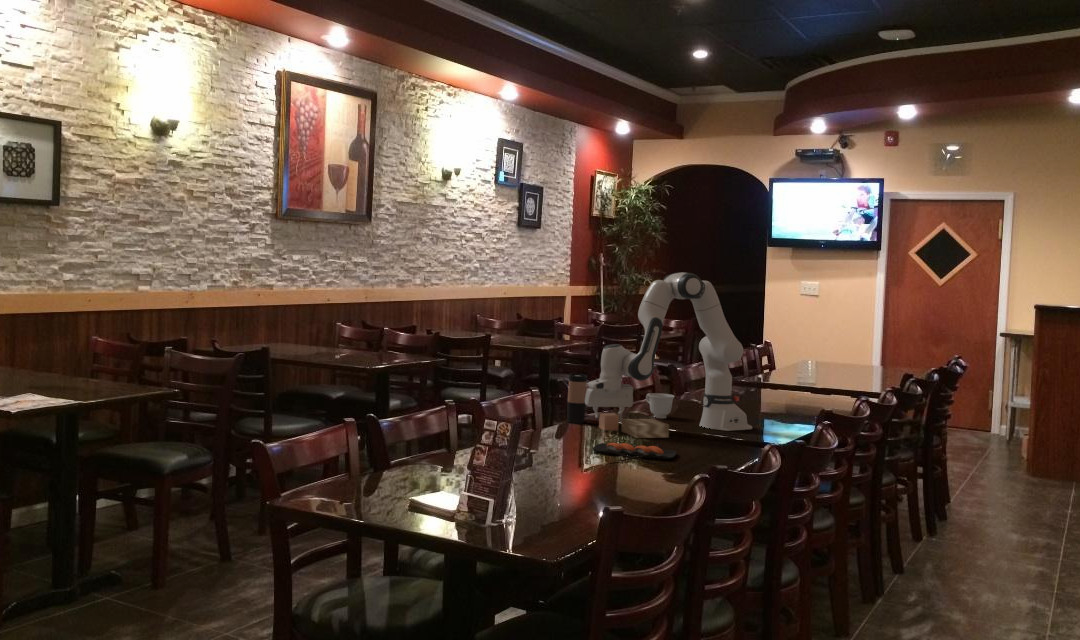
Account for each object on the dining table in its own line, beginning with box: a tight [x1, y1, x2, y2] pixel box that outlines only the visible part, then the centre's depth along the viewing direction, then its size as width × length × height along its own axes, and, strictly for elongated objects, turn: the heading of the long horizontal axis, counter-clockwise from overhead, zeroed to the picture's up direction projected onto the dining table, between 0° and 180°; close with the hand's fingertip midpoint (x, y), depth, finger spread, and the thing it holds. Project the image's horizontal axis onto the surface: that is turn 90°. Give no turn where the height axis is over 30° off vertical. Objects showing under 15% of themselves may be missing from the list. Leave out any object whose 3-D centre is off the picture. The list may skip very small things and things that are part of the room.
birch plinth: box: [620, 418, 670, 439], centre depth 378 cm, size 14×14×5 cm
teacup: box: [645, 392, 675, 419], centre depth 424 cm, size 12×15×10 cm
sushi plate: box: [592, 442, 678, 464], centre depth 329 cm, size 29×30×4 cm
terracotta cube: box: [598, 412, 620, 431], centre depth 386 cm, size 6×6×6 cm
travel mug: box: [566, 373, 588, 425], centre depth 398 cm, size 8×8×20 cm
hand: (608, 417), depth 386 cm, fingers open, 8 cm apart
